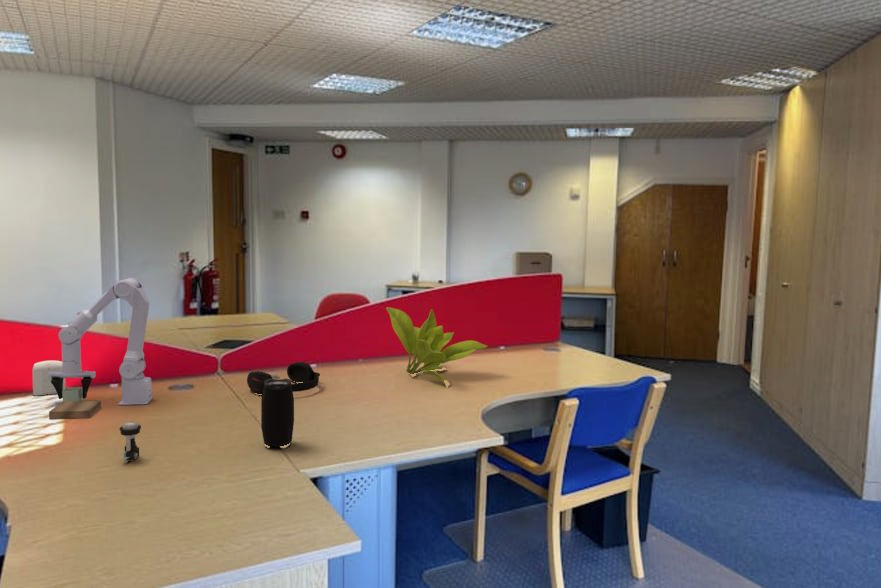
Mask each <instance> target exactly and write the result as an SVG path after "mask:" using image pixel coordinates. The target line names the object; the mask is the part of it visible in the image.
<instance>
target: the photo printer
mask: <svg viewBox="0 0 881 588" xmlns="http://www.w3.org/2000/svg"><path fill="white" fill-rule="evenodd" d="M60 371H63V368H62V360H61V361H60V360H52V359H51V360H50V359H49V360H43V361H38V362H35V363H34V364H33V367H32V394H33V395H32V396H34V397H37V396H46V395H47V394H48V395H58V394H57V392H56V389H55V388H54V386H53V385H52V383H51V380H52V379H48V373H50V372H60ZM65 389H66V378H63V390H65ZM48 395H47V396H48Z"/></svg>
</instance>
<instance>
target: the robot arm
mask: <svg viewBox="0 0 881 588" xmlns="http://www.w3.org/2000/svg"><path fill="white" fill-rule="evenodd" d="M117 299H122V300H124V301H125V302H127V303H128V304H129V305H130V306H131V307H132V312H131V319H130V325H129V326H130V327H129V332H128V333H129V334H128V341H127V348H126V352H125V354H124V357H123V362H122V363H121V364H120V366H119V368H118V369H119V370H118V371H119V374H120V377H121V397H122V398H121V399H122V400H121V401H119V403H118V405H119V406H122V405H123V406H124V405H125V406H127V405H129V406H130V405H148V404H149V403H150V401H152V399H153V392H152V391H153V388H152V387H153V386H152V385H153V382H152V378H151V377H150V376H149V377H148V376H145V374H144V372H143V371H145V369H146V365H147V364H146V361H145V353H144V351H143V349H144V343H145V338H146V337H145V336H146V331H147V330H146V329H147V321H148V317H149V316H148V315H149V309H150V301H149V298H148V296H147V294H146V291H145V289H144V284H142V283H141V281H139V279H137V278H135V277H127V278H125V279H121V280H117V281H116V282H115V284H113V285H111V286H110V287H109V288H108V289H106V291H105V292H104V293H103V294H102V295H101V296H100V297H99V299H97V300H96V302H94V303H93V305H92V306H91V307H90V308H89V309H83V310H79V311H78V312H77V313H76V317H74V318H73V320H70V321H68V322H67V323H66V324H67V326H65V327H62V328H61V329H60V330H59V332H58V338H59V341H60V342H61V362H62V368H63V371H60V372H50V373H48V379H52V380H51V383H52V385H53V386H54V388H55V389H56V392H57V394H56V395H57V396H58V397H57V398H58V400H61V399H63V397H62V391H63V378H65V379H73V378H74V379H80V378H81V380H80V382H81V387H82V389H83V392H82V396H83V399H86V398H87V396H88V392H89V391H88V390H89V388H90V386H91V383H92V381H93V380H94V378H96V377H97V376H96V371H89V370H82V356H81V355H82V351H81V348H82V347H81V339H83V337H84V334H85V333H86V332H87V331H89V329H90V328H92V326H93V325H95V323H97V321H98V315H99V314H100V313H101V312H102V311H103V310H105V309H106V308H107V307H108V306H109V305H110V304H111V303H112V302H113V301H114V300H117Z"/></svg>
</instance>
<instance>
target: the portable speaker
mask: <svg viewBox="0 0 881 588" xmlns="http://www.w3.org/2000/svg"><path fill="white" fill-rule="evenodd" d="M291 384H292V380H291V379H290V378H283V379H282V378H281V379H273V378H272V379H267V380H265V381H264V388H263V394H262V396H261V400H260V401H261V402H260V403H261V406H260V408H261V410H260V411H261V413H260V414H261V415H260V416H261V418H260V419H261V420H260V421H261V423H260V424H261V433H262V439H263V444H266V445H268V446H284V445H287V444H289V443H292V441H293V435H294V434H293V432H294V423H295V397H294V392H293V391H292V385H291Z"/></svg>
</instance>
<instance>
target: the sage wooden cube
mask: <svg viewBox="0 0 881 588" xmlns="http://www.w3.org/2000/svg"><path fill="white" fill-rule="evenodd" d="M82 392H83V389H82V386H81V387H80V386H77V387H75V386H73V387H72V386H71V387H65V390H63V391H62V397H63V398H62V402H63V401H84V398H83V396H82Z"/></svg>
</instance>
